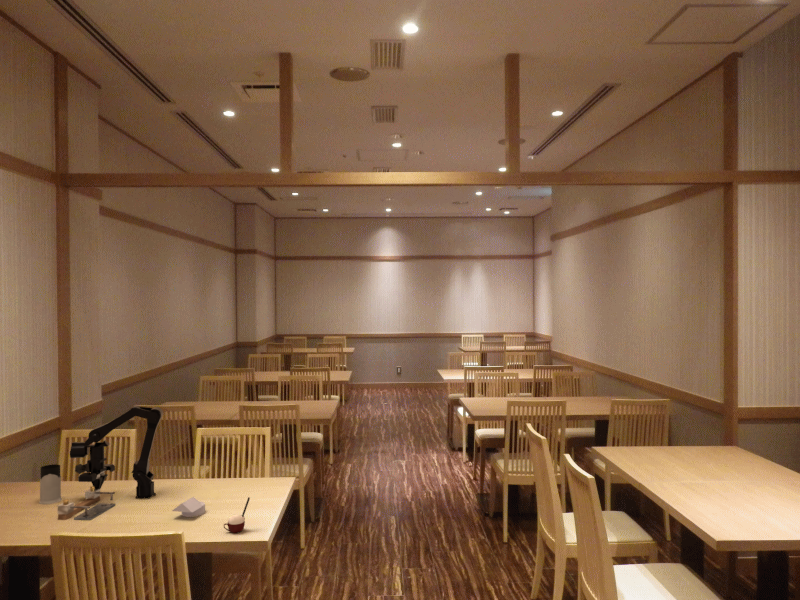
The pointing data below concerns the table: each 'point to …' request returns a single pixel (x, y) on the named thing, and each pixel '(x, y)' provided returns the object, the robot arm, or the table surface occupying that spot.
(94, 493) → the carriage
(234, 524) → the cocoa
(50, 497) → the glass holder
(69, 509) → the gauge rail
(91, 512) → the flange plate
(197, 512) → the wedge on round base
